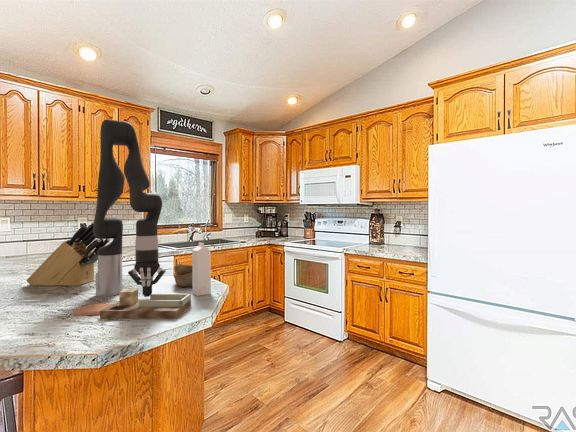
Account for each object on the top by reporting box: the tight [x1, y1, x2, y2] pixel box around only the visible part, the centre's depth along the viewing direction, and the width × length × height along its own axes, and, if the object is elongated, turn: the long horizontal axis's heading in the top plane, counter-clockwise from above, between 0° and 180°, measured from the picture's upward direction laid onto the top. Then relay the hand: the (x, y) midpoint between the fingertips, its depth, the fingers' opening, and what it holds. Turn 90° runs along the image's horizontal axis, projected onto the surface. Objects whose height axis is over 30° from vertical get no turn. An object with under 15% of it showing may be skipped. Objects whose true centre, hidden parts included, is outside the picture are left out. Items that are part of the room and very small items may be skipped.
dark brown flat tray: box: [99, 298, 192, 320], centre depth 108 cm, size 26×14×2 cm, turn 89°
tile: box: [73, 303, 114, 316], centre depth 110 cm, size 9×9×1 cm
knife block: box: [25, 221, 111, 287], centre depth 153 cm, size 11×35×31 cm, turn 89°
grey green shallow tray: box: [139, 293, 192, 307], centre depth 111 cm, size 15×9×2 cm, turn 89°
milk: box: [191, 241, 212, 297], centre depth 133 cm, size 6×6×22 cm
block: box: [118, 288, 139, 305], centre depth 111 cm, size 4×4×4 cm
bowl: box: [173, 263, 193, 288], centre depth 147 cm, size 18×14×10 cm
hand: (147, 296), depth 111 cm, fingers closed
